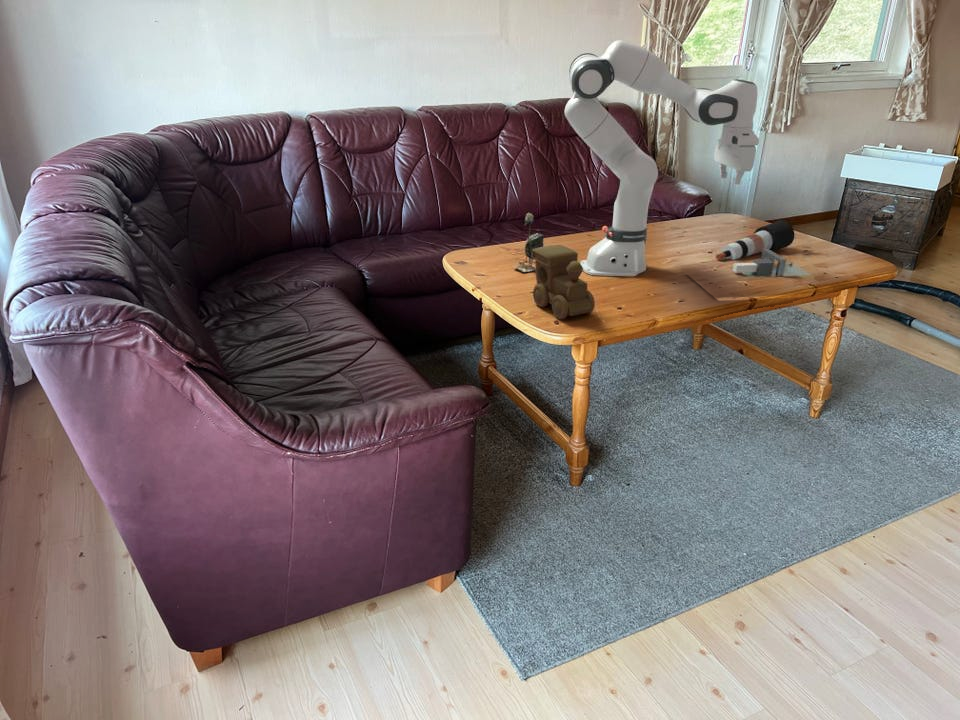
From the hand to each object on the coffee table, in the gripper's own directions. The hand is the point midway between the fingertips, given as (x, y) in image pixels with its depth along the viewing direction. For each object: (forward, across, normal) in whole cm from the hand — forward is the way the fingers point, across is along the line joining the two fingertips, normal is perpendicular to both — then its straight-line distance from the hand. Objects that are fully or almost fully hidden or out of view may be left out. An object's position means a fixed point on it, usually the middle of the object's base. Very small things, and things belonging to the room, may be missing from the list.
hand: (729, 181), depth 215 cm
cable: (+31, -15, +20) cm, 39 cm away
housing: (+30, +4, +17) cm, 35 cm away
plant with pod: (+30, -11, -62) cm, 70 cm away
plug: (+29, +6, +9) cm, 31 cm away
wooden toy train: (+30, +27, -60) cm, 72 cm away
